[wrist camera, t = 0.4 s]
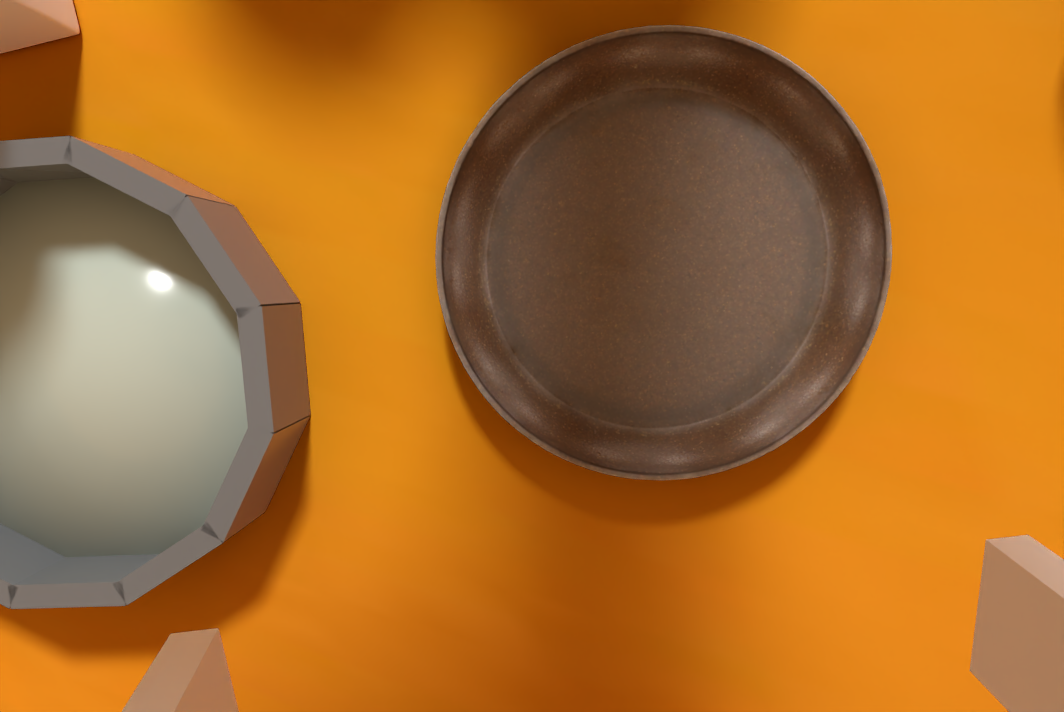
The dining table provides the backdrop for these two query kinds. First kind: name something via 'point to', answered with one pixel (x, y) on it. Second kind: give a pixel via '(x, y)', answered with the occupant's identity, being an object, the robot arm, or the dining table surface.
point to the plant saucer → (663, 252)
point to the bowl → (132, 374)
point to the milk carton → (35, 22)
